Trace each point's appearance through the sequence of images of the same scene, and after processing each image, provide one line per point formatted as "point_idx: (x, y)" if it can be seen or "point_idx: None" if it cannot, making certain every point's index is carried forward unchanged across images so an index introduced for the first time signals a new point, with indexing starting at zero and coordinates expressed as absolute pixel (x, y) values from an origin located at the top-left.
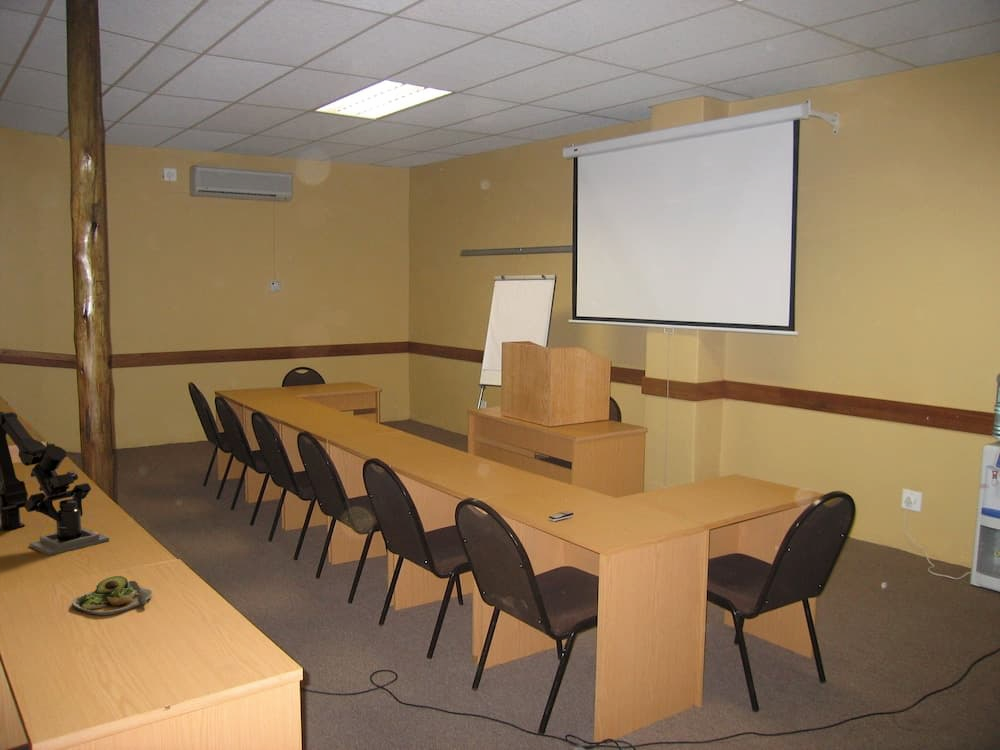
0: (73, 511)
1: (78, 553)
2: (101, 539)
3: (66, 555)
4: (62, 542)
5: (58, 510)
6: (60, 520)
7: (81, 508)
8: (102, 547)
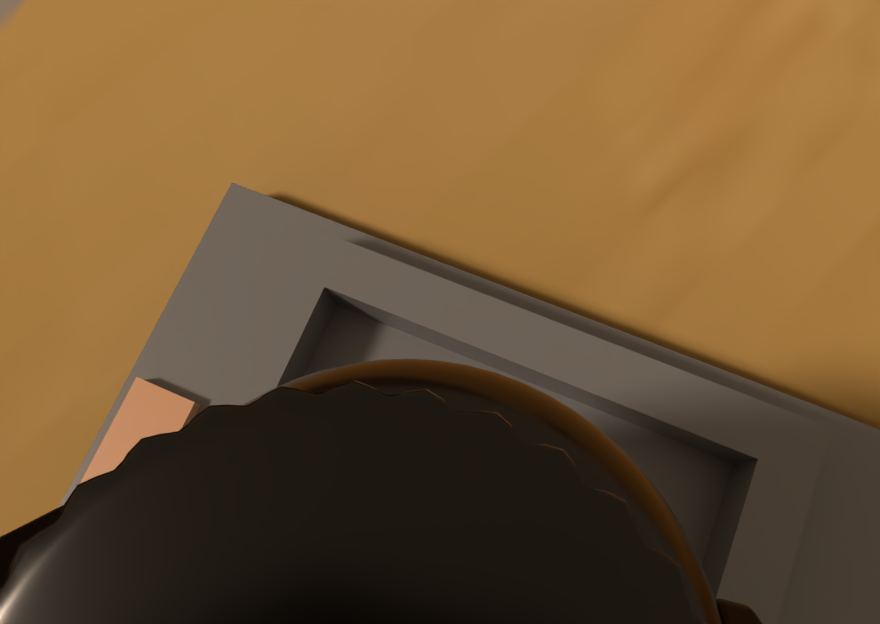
0: (467, 400)
1: (699, 195)
2: (309, 219)
3: (804, 266)
4: (726, 435)
5: None
6: (724, 602)
7: (34, 532)
8: (454, 109)
